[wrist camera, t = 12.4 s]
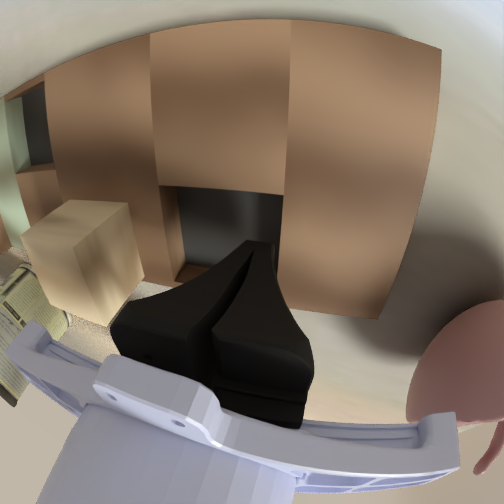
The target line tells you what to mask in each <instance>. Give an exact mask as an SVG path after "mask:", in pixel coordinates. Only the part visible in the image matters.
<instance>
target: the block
mask: <svg viewBox="0 0 504 504" xmlns="http://www.w3.org/2000/svg"><path fill="white" fill-rule="evenodd" d="M20 238H21V241H22V243H23V246H24V248H25V251H26V253H27V256H28V258H29V260H30V263H31V265H32V267H33V270H34V272H35V274H36V276H37V278H38V280H39V282H40V285H41V287H42V289H43V291H44V293H45V295H46V297H47V298H48V300H49V302H50V304H51V305H53V306H55V307H57V308H59V309H62V310H64V311H66V312H69V313H71V314H73V315H76V316H78V317H81V318H83V319H86V320H88V321H91V322H93V323H96V324H98V325H101V326H104V327H107V325H108V324H109V323H110V321H111V320H112V318H113V317H114V316H115V314H116V313H117V312H118V310H119V309H120V308H121V306H122V305H123V304H124V302H125V301H126V300H127V298H128V297H129V296H130V294H131V293H132V292H133V291H134V289H135V288H136V287H137V285H138V284H139V283H140V282H141V280H142V279H143V278H144V277H145V276H144V272H143V269H142V265H141V261H140V257H139V253H138V248H137V244H136V240H135V235H134V231H133V226H132V221H131V216H130V211H129V206H128V203H124V202H108V201H89V200H69V201H67V202H66V203H64V204H63V205H61V206H60V207H58V208H57V209H55V210H54V211H52V212H51V213H50V214H48V215H47V216H45V217H44V218H43V219H41V220H40V221H39V222H37V223H36V224H35V225H33V226H32V227H31V228H29V229H28V230H27V231H26V232H24V233H23V234H22V235H20Z"/></svg>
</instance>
